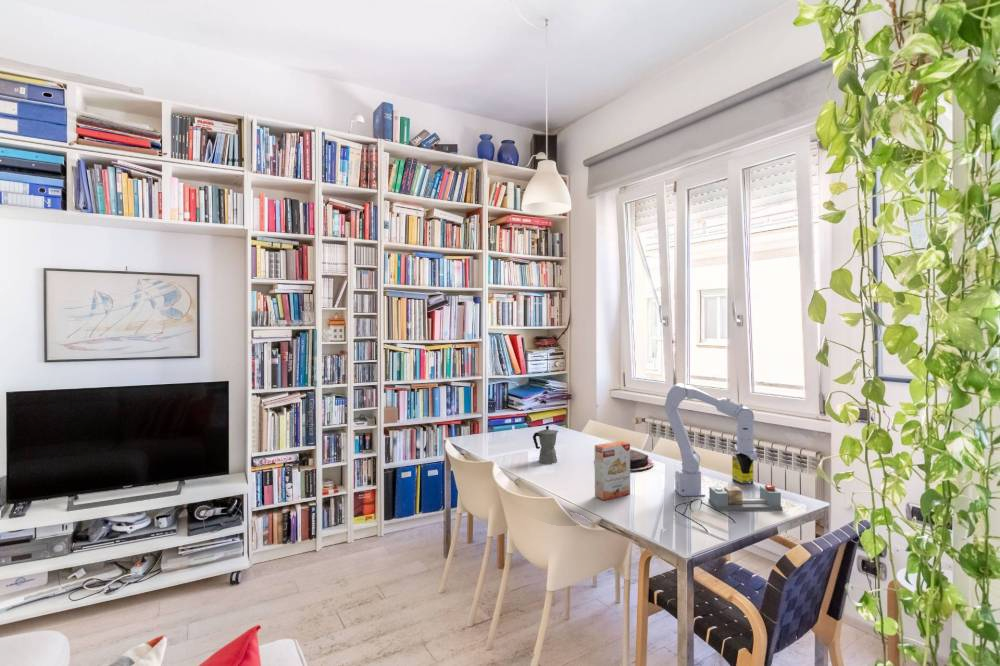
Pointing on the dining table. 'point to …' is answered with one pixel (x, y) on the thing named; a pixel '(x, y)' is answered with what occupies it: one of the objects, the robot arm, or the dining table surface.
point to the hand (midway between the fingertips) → (745, 473)
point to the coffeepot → (546, 445)
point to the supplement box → (738, 475)
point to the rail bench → (745, 500)
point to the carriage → (734, 495)
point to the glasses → (699, 508)
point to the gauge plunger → (770, 487)
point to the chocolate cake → (639, 461)
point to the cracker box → (612, 470)
